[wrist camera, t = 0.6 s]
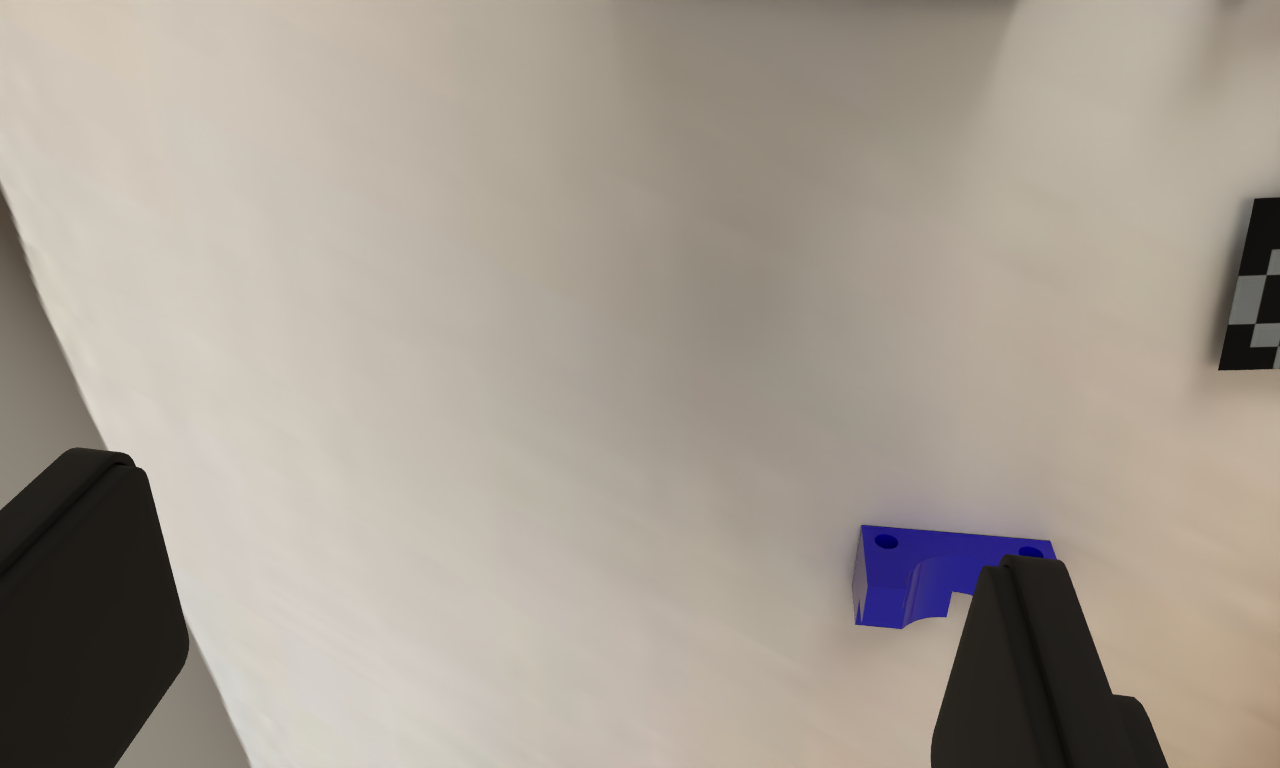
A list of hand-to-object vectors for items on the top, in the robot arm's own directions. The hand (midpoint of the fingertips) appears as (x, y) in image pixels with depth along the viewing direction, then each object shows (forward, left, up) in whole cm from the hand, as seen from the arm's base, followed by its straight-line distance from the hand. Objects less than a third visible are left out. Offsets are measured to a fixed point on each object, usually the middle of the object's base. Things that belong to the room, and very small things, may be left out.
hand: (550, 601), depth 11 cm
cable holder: (+21, +12, -28) cm, 37 cm away
